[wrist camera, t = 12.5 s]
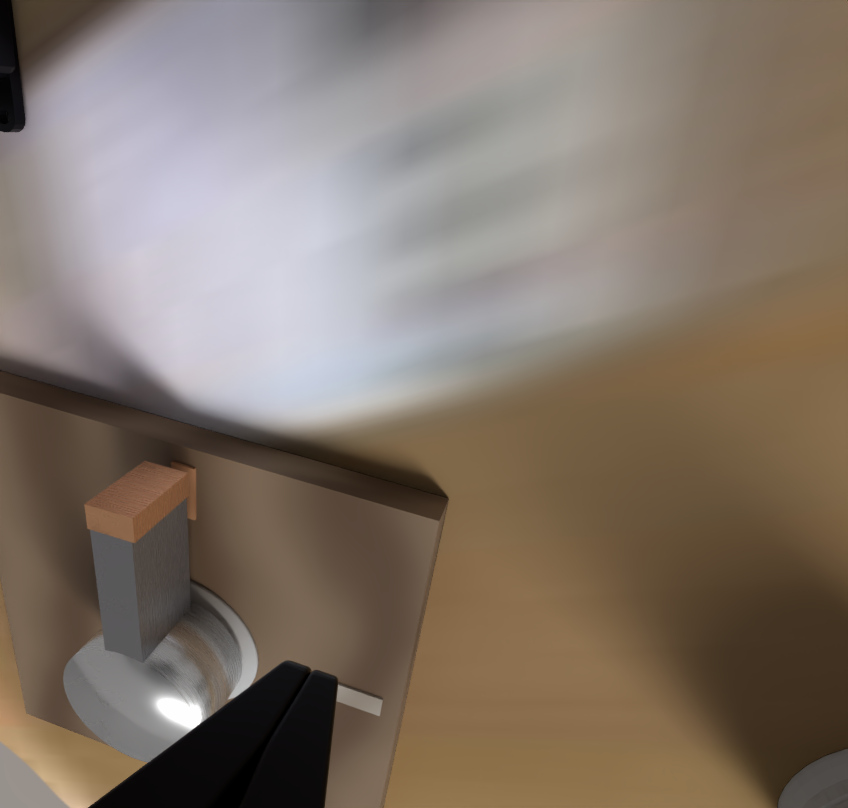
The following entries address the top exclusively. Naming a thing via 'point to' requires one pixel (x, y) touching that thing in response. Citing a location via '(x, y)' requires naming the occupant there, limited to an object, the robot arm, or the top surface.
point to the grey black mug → (819, 784)
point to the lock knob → (148, 622)
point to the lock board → (222, 562)
